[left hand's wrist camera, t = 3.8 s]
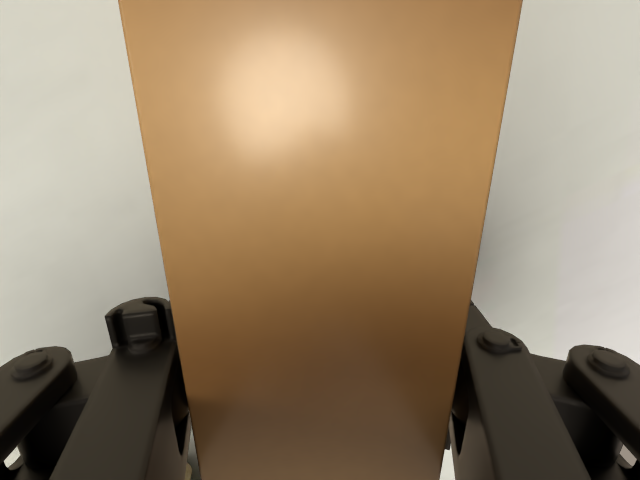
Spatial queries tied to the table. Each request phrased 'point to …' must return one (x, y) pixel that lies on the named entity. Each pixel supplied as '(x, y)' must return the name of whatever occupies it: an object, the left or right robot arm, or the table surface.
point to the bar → (320, 219)
